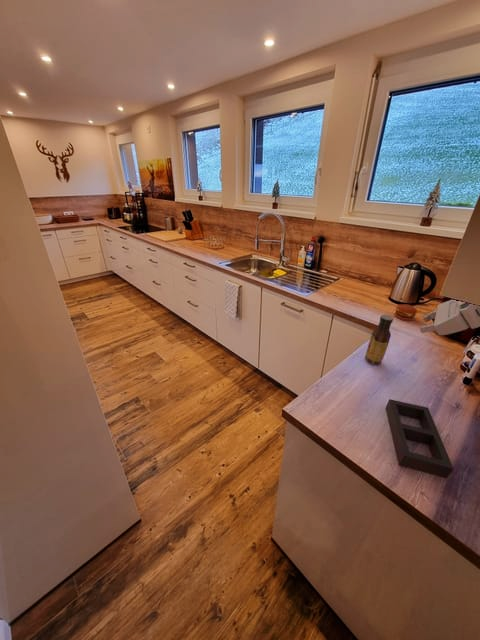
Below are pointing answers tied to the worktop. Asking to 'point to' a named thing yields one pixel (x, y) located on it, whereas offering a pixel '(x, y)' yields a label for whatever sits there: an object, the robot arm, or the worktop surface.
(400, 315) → the hamburger
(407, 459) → the caddy
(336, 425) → the worktop surface
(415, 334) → the worktop surface
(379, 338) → the sauce bottle
